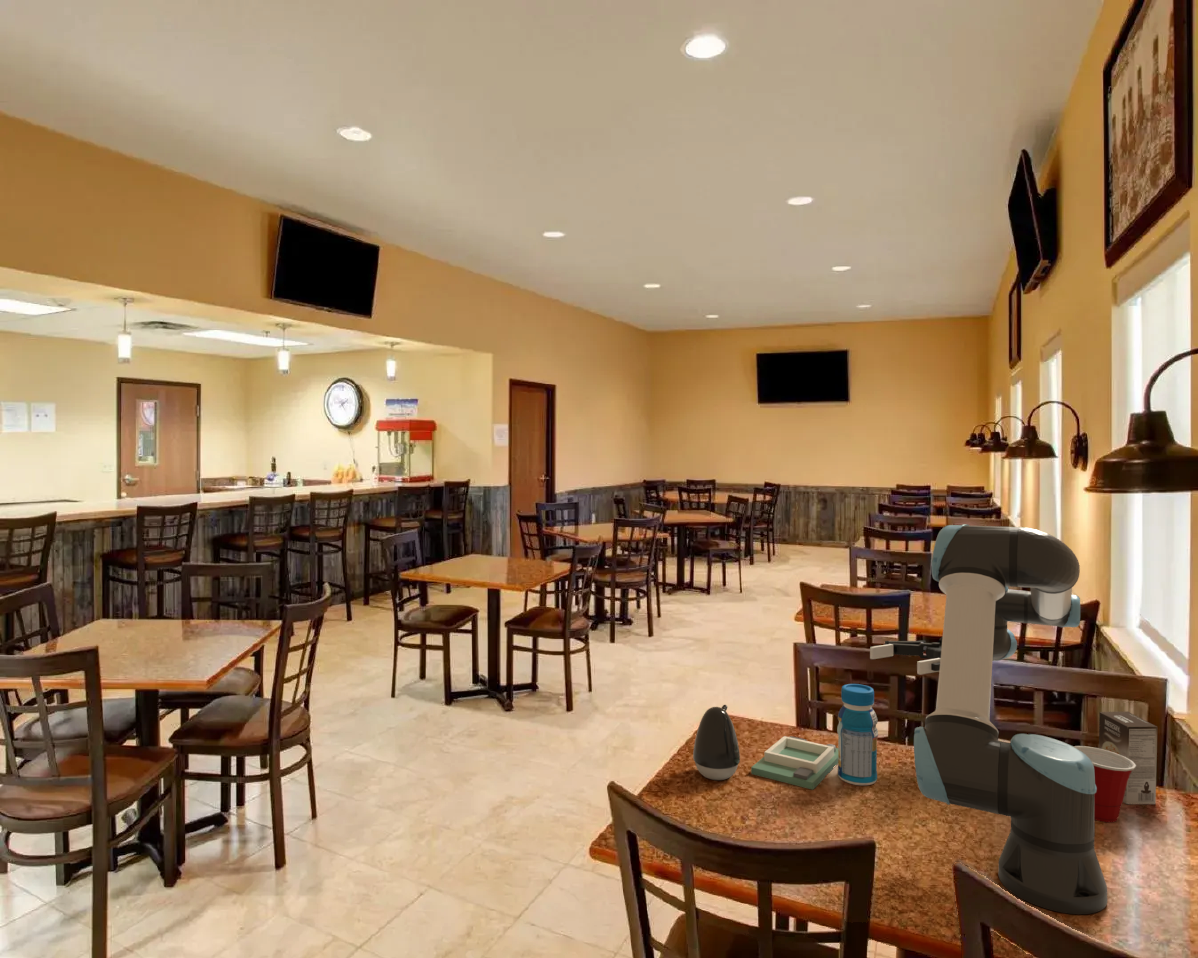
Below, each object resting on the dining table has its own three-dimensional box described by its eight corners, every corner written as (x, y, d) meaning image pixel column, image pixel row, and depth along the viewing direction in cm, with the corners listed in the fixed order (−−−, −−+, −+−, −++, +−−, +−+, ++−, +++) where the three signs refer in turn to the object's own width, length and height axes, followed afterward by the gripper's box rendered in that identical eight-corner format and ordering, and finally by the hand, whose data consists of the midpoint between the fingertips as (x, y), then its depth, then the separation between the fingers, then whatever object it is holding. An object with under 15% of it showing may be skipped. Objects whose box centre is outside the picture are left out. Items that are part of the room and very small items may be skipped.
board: (813, 789, 157) (813, 773, 157) (751, 773, 165) (751, 758, 165) (845, 755, 175) (845, 741, 175) (787, 743, 183) (788, 728, 183)
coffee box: (1096, 785, 159) (1097, 710, 158) (1126, 785, 159) (1127, 710, 158) (1126, 804, 150) (1127, 725, 149) (1158, 805, 149) (1159, 725, 149)
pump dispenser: (747, 771, 166) (747, 704, 166) (729, 789, 157) (729, 718, 157) (705, 762, 172) (705, 696, 171) (685, 778, 163) (685, 709, 162)
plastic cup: (1146, 831, 139) (1147, 768, 138) (1082, 826, 141) (1083, 763, 141) (1118, 805, 149) (1119, 746, 149) (1059, 800, 151) (1060, 742, 151)
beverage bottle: (851, 789, 157) (852, 695, 157) (829, 772, 165) (829, 683, 165) (886, 784, 159) (886, 691, 159) (862, 768, 168) (862, 680, 167)
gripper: (1009, 679, 164) (940, 692, 155) (918, 652, 187) (853, 663, 178) (1009, 645, 164) (940, 657, 155) (918, 623, 186) (853, 631, 177)
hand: (893, 660), depth 166 cm, fingers open, 13 cm apart
